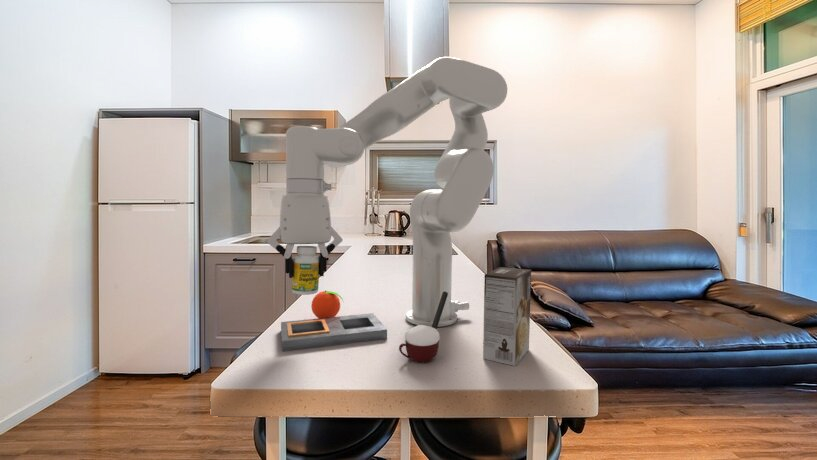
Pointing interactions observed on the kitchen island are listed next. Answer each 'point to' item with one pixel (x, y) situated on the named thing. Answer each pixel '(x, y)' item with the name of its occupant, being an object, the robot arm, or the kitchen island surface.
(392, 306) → the kitchen island surface
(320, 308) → the clementine
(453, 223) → the robot arm
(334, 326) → the two-pocket grey tray
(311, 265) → the supplement bottle
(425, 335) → the cocoa
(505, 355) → the coffee box
